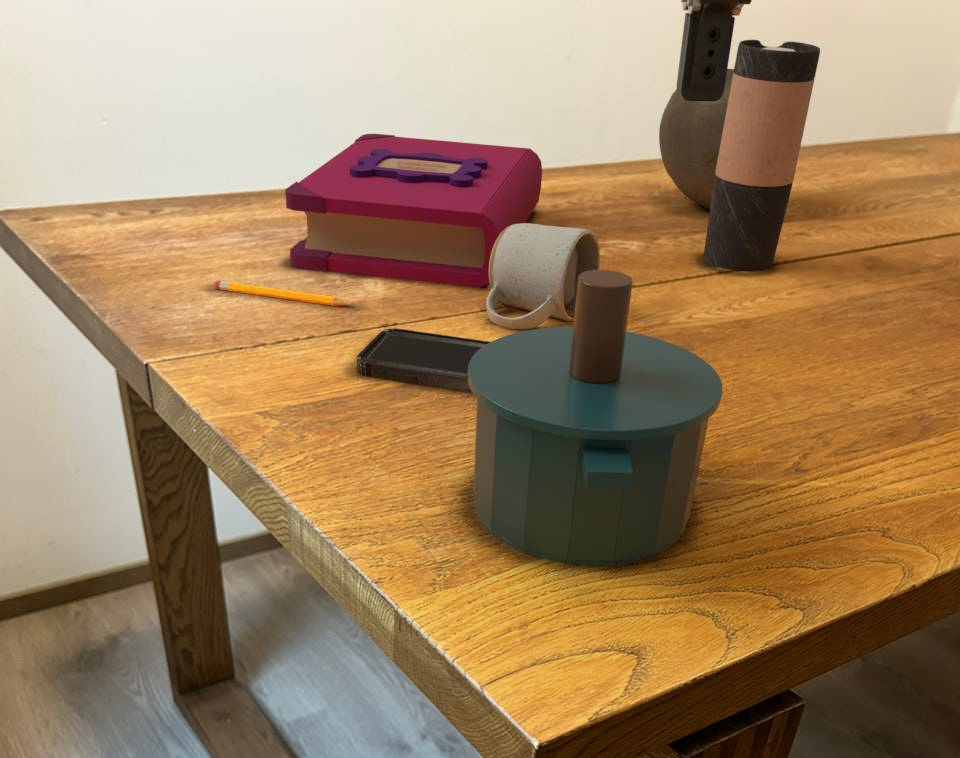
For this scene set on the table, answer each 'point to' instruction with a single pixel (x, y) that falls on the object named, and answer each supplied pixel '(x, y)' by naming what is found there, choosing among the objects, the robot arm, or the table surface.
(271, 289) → the pencil
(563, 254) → the ceramic mug
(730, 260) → the travel mug
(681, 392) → the lid
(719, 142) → the brown textured sphere
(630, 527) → the pot
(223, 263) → the table surface
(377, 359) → the phone
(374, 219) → the book
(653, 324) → the table surface
